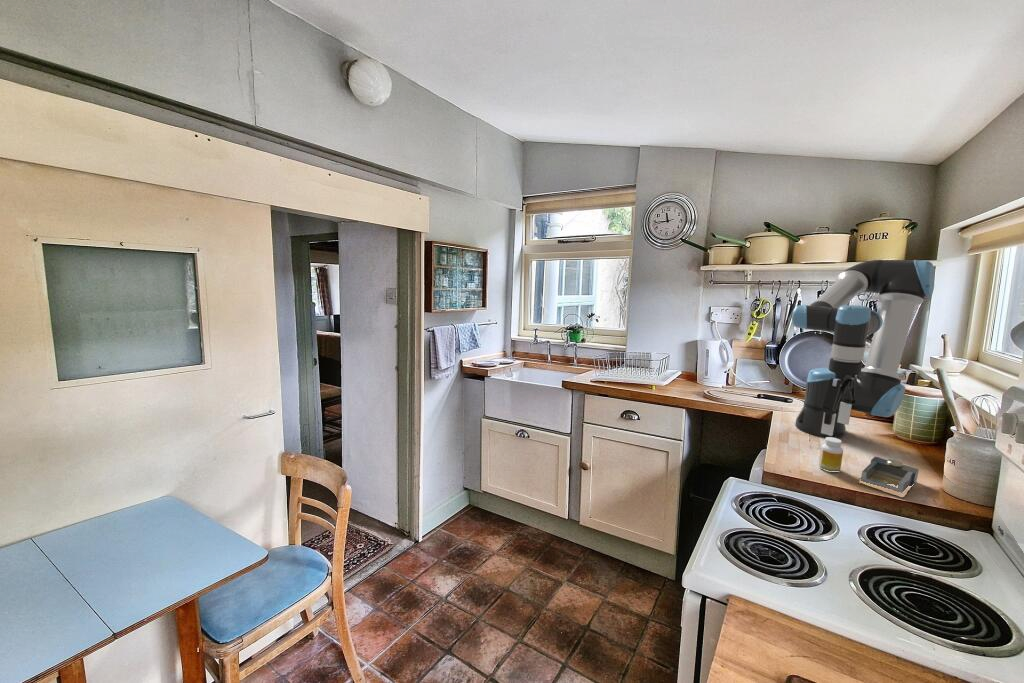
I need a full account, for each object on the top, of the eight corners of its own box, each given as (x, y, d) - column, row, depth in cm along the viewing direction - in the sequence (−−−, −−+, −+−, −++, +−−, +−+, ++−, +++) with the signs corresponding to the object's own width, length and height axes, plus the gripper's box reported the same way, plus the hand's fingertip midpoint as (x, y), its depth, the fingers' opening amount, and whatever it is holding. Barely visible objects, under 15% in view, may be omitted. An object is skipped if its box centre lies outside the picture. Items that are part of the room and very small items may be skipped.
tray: (872, 468, 133) (875, 453, 132) (916, 481, 125) (919, 466, 124) (857, 483, 125) (860, 467, 124) (903, 498, 117) (906, 482, 116)
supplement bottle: (843, 474, 130) (848, 444, 127) (823, 472, 131) (828, 442, 129) (834, 465, 135) (839, 436, 133) (815, 464, 136) (819, 435, 134)
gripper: (845, 351, 136) (834, 415, 140) (814, 363, 121) (804, 434, 125) (875, 355, 130) (863, 422, 134) (847, 368, 115) (835, 443, 119)
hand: (834, 428), depth 130 cm, fingers open, 13 cm apart
